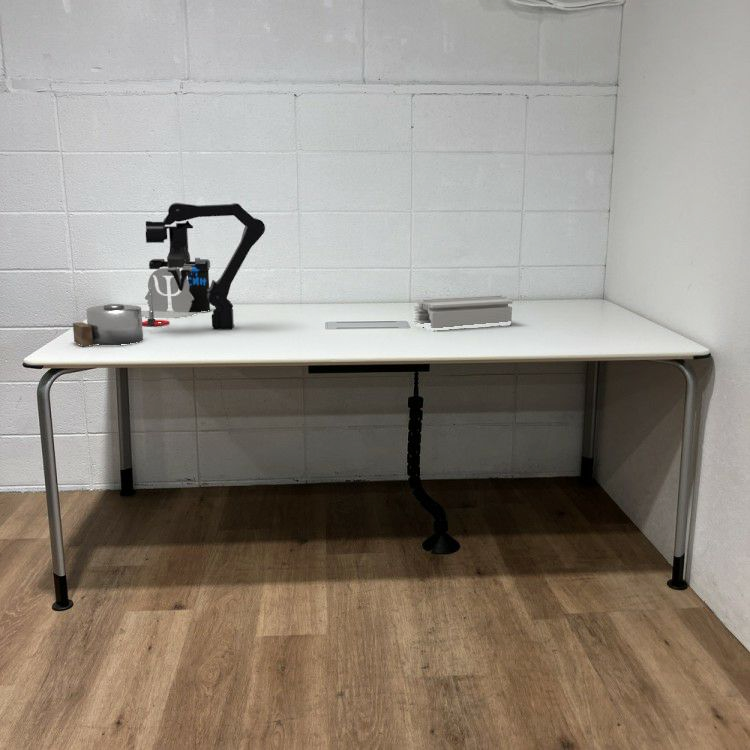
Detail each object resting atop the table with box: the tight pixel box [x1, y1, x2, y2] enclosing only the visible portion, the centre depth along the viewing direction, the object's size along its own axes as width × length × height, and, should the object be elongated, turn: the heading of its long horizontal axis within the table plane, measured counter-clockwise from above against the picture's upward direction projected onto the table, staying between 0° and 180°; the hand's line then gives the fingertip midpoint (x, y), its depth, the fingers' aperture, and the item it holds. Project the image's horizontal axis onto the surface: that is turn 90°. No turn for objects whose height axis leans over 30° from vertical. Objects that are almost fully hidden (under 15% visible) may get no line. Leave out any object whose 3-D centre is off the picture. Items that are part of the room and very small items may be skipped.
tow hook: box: [142, 288, 170, 327], centre depth 273 cm, size 8×13×9 cm
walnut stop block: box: [72, 321, 94, 347], centre depth 240 cm, size 3×8×6 cm, turn 38°
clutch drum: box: [85, 303, 144, 346], centre depth 245 cm, size 16×16×11 cm
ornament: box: [141, 267, 198, 319], centre depth 288 cm, size 22×13×17 cm, turn 82°
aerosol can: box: [187, 257, 211, 312], centre depth 299 cm, size 8×8×20 cm
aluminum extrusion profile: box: [414, 295, 513, 328], centre depth 277 cm, size 14×31×10 cm, turn 112°
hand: (181, 290), depth 261 cm, fingers closed
